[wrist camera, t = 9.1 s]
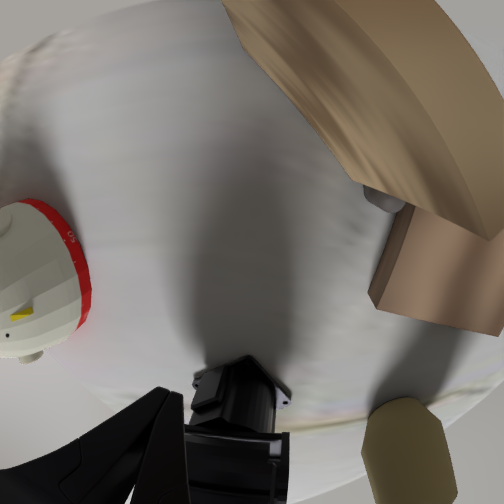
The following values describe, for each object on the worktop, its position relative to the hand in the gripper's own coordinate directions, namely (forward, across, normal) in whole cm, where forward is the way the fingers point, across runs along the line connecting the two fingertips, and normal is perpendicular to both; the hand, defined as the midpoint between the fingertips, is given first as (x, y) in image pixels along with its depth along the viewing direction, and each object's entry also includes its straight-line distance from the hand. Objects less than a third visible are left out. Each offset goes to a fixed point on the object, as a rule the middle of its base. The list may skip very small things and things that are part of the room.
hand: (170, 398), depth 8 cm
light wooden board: (+13, -3, -11) cm, 17 cm away
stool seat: (+13, -16, -7) cm, 22 cm away
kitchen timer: (+13, +19, +7) cm, 24 cm away
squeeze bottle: (+13, -19, +12) cm, 26 cm away
